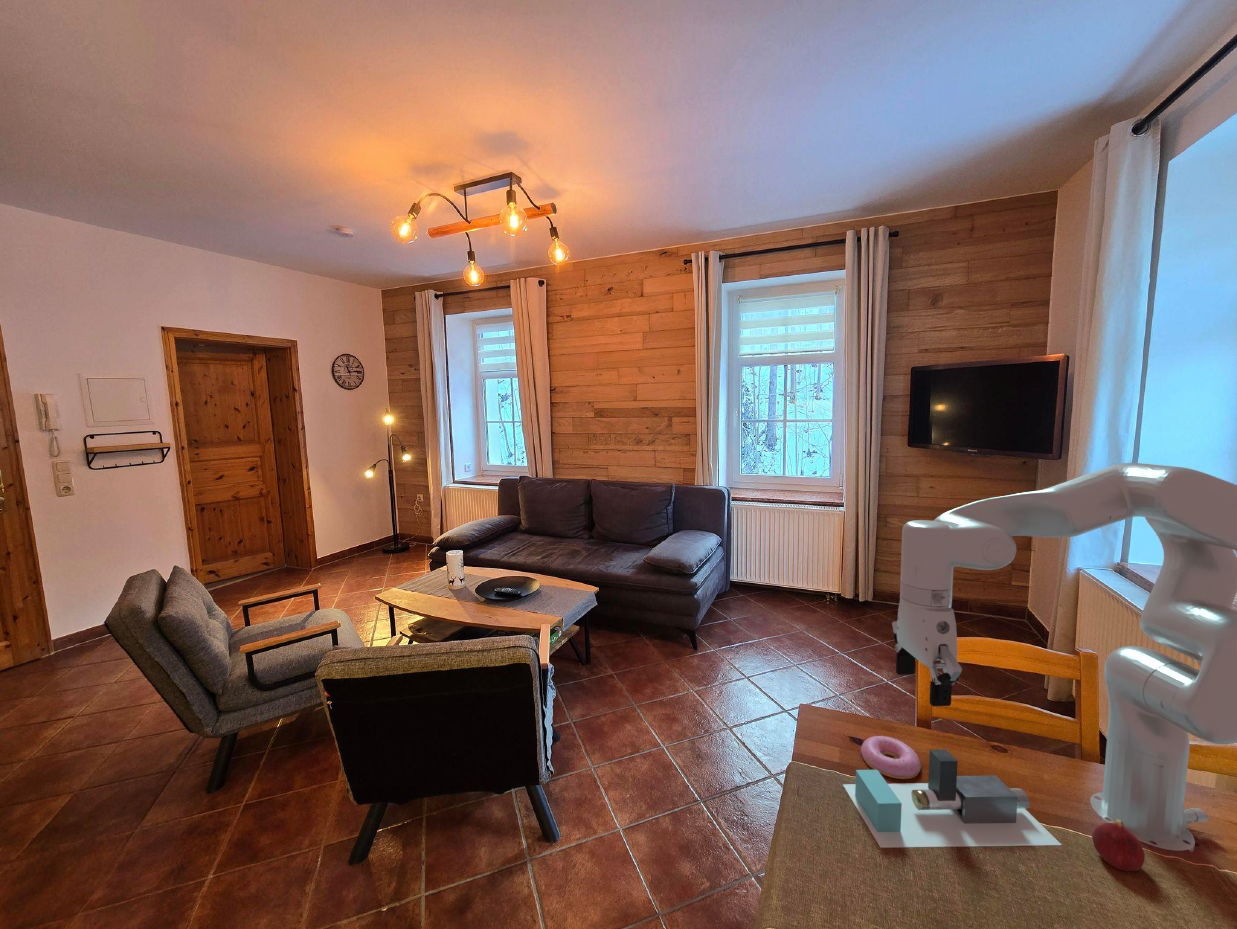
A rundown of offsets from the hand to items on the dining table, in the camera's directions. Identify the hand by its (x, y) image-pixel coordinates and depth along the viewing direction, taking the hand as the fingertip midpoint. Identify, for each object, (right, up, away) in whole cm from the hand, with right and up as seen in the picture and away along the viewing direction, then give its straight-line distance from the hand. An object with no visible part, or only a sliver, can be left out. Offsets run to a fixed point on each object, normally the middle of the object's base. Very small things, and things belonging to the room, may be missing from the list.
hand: (921, 688), depth 85 cm
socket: (-6, -24, +3) cm, 25 cm away
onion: (+27, -26, -7) cm, 38 cm away
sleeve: (+12, -24, +3) cm, 27 cm away
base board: (+6, -25, +3) cm, 26 cm away
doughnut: (+4, -24, +17) cm, 30 cm away
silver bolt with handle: (+10, -23, +3) cm, 25 cm away
